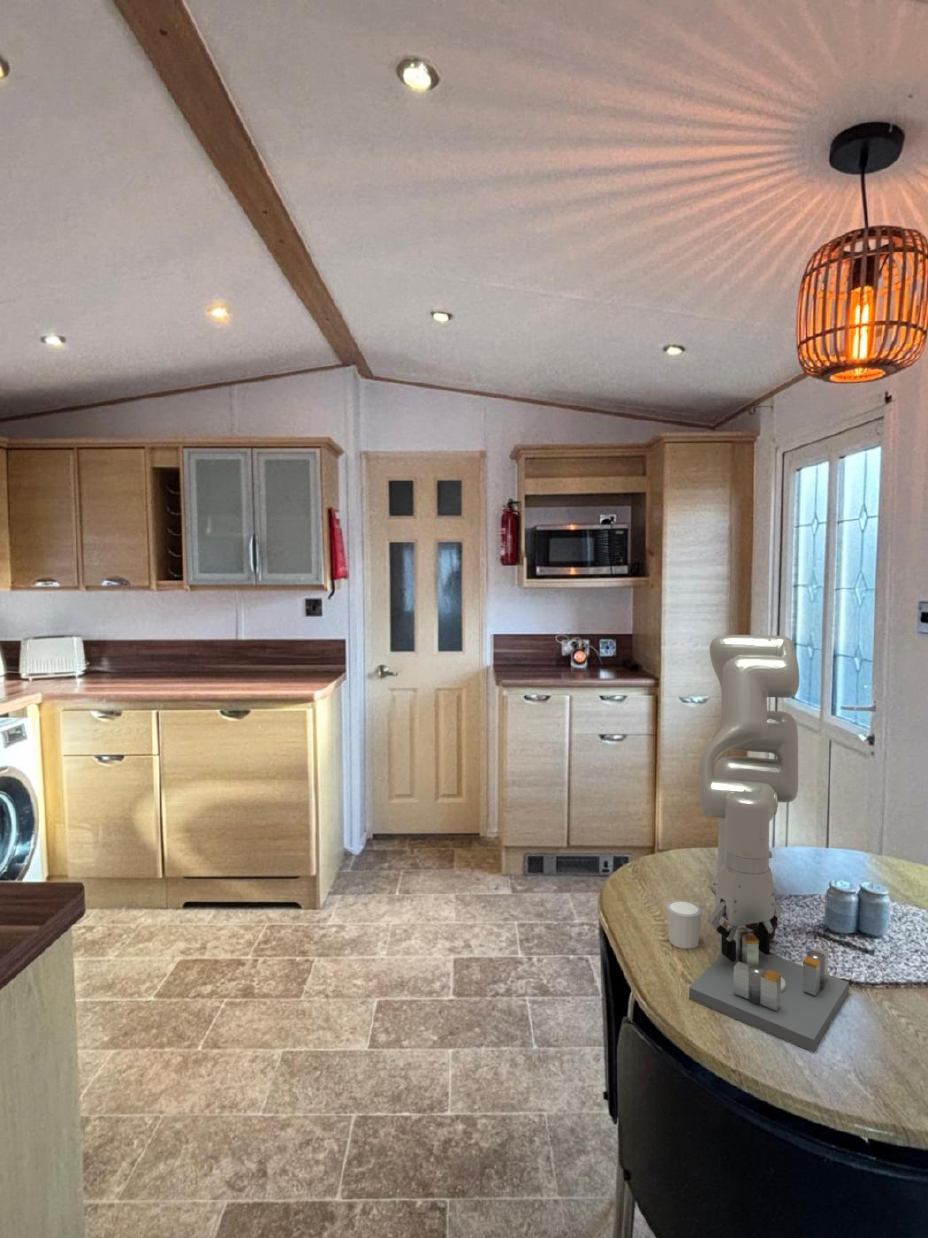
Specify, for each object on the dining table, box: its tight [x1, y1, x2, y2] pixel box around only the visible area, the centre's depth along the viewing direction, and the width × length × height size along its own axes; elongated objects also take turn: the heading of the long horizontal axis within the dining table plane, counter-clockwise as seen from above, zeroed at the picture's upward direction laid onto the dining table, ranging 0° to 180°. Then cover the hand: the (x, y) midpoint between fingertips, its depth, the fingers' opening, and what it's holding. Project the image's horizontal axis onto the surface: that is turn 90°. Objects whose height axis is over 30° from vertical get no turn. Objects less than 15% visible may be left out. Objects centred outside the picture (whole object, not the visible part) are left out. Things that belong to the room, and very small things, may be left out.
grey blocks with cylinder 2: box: [802, 947, 829, 996], centre depth 117 cm, size 7×3×5 cm, turn 137°
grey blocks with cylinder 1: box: [733, 962, 781, 1011], centre depth 114 cm, size 7×3×5 cm, turn 47°
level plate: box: [688, 950, 850, 1053], centre depth 118 cm, size 20×20×3 cm
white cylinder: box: [665, 899, 703, 950], centre depth 136 cm, size 7×7×7 cm
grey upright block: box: [733, 925, 759, 965], centre depth 126 cm, size 7×3×5 cm, turn 178°
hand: (745, 953), depth 126 cm, fingers open, 6 cm apart
